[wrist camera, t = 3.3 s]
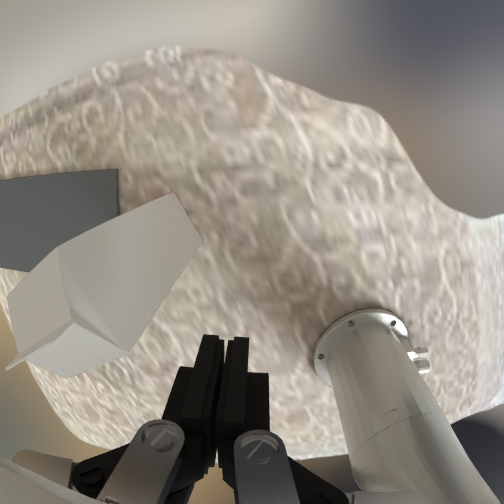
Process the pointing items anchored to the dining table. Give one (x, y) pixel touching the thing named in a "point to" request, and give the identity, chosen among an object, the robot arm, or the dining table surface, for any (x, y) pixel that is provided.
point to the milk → (101, 288)
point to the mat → (52, 213)
